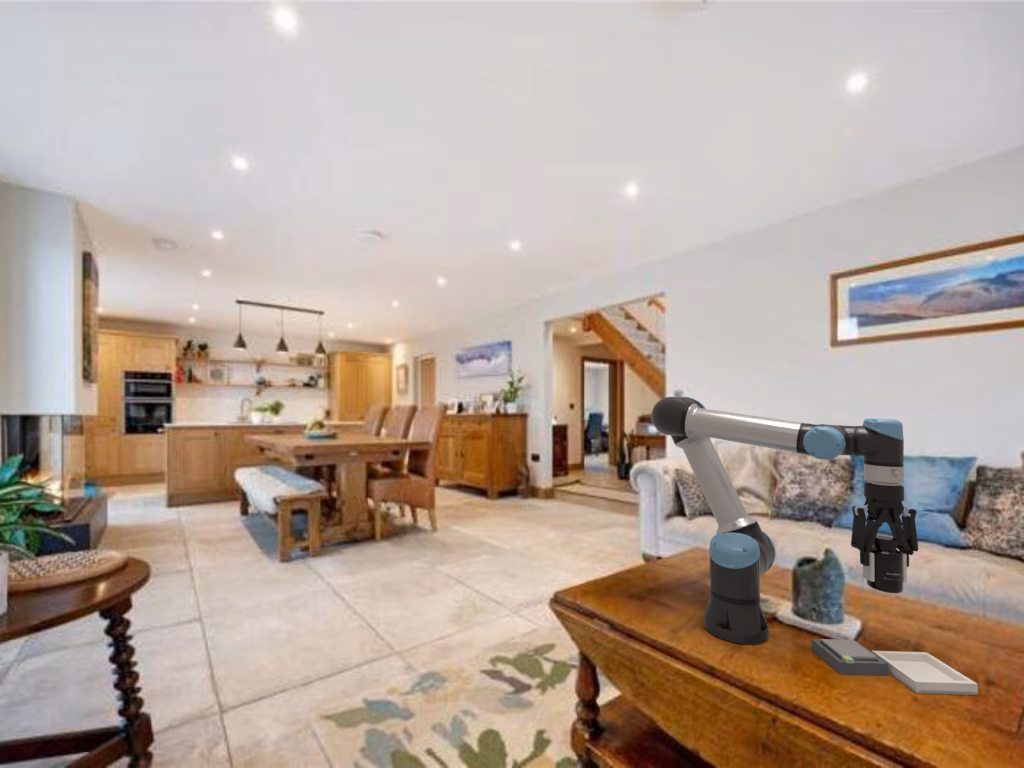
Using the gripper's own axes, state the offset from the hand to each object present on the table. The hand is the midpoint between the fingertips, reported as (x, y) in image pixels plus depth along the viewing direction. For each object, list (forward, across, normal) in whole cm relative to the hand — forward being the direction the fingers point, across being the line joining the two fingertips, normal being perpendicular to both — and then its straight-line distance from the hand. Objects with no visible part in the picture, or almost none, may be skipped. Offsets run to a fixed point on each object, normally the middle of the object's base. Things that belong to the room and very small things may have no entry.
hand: (884, 579), depth 110 cm
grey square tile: (+15, -13, -5) cm, 20 cm away
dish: (+16, -1, -11) cm, 20 cm away
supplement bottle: (+2, 0, 0) cm, 2 cm away
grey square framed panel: (+17, -13, -6) cm, 22 cm away
